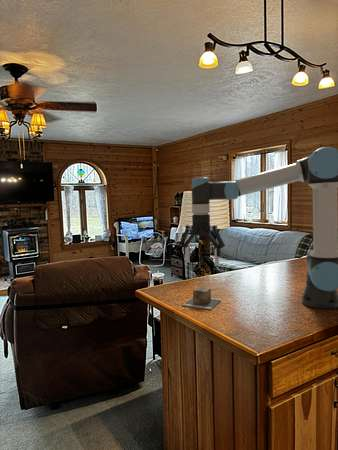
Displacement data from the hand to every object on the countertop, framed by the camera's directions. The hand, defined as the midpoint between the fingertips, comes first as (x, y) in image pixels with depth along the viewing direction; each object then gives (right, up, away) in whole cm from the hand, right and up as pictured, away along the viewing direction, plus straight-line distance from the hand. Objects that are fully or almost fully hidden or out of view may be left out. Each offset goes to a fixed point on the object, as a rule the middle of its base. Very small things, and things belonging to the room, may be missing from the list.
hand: (201, 262), depth 146 cm
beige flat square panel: (+9, -19, -3) cm, 21 cm away
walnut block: (0, -18, +2) cm, 18 cm away
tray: (0, -18, +2) cm, 19 cm away
